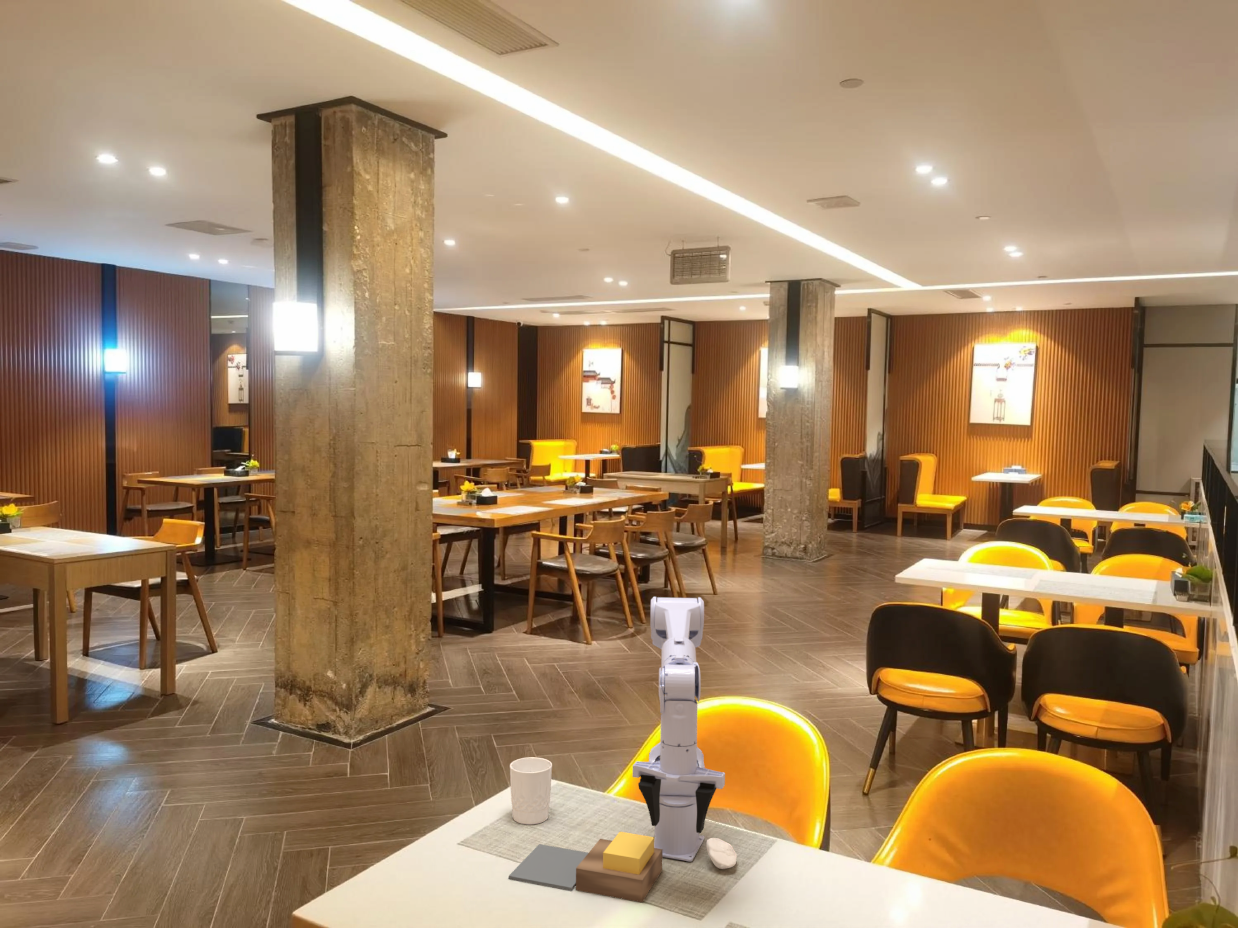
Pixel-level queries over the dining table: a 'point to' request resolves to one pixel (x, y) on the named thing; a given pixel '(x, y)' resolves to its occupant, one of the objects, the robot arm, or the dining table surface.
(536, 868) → the mat
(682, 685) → the robot arm
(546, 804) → the white cup
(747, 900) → the dining table surface
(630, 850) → the yellow cuboid
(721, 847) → the dumpling
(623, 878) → the brown cuboid
